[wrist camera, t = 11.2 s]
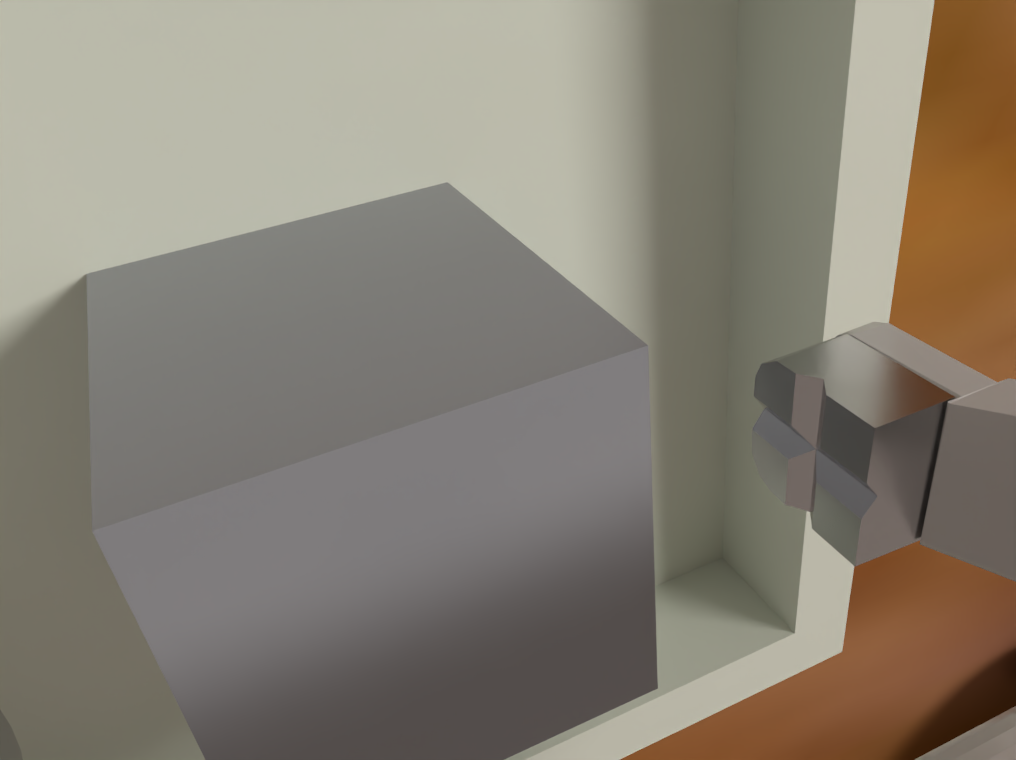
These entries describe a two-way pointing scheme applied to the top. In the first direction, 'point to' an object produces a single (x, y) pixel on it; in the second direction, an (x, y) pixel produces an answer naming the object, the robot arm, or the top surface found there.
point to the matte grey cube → (375, 485)
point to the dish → (511, 203)
